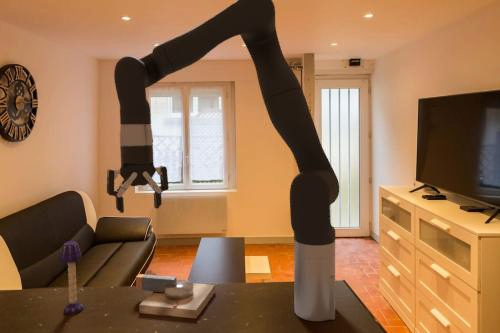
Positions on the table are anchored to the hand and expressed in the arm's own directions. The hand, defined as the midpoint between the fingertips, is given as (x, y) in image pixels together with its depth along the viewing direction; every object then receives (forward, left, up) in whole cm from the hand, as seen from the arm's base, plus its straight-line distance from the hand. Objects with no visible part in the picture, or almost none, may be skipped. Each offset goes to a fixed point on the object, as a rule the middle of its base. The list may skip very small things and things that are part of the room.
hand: (139, 210), depth 93 cm
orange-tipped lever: (-5, -1, -21) cm, 22 cm away
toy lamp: (+14, +8, -23) cm, 28 cm away
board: (-9, -1, -23) cm, 25 cm away
